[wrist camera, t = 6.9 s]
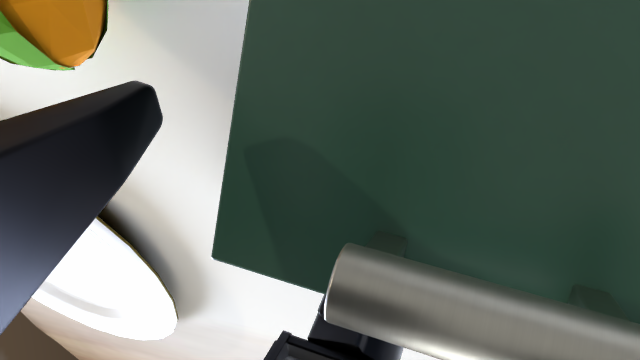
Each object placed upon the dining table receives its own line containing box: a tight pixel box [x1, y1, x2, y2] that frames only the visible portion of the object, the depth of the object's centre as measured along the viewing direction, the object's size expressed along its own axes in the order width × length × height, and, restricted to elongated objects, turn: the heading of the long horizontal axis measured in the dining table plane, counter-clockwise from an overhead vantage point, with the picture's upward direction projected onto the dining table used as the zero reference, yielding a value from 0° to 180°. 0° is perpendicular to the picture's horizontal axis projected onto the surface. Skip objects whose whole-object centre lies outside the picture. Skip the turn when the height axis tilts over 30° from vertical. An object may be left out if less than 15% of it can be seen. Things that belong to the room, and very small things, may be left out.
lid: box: [211, 0, 640, 360], centre depth 8 cm, size 12×12×4 cm
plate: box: [32, 216, 178, 340], centre depth 50 cm, size 29×29×2 cm
